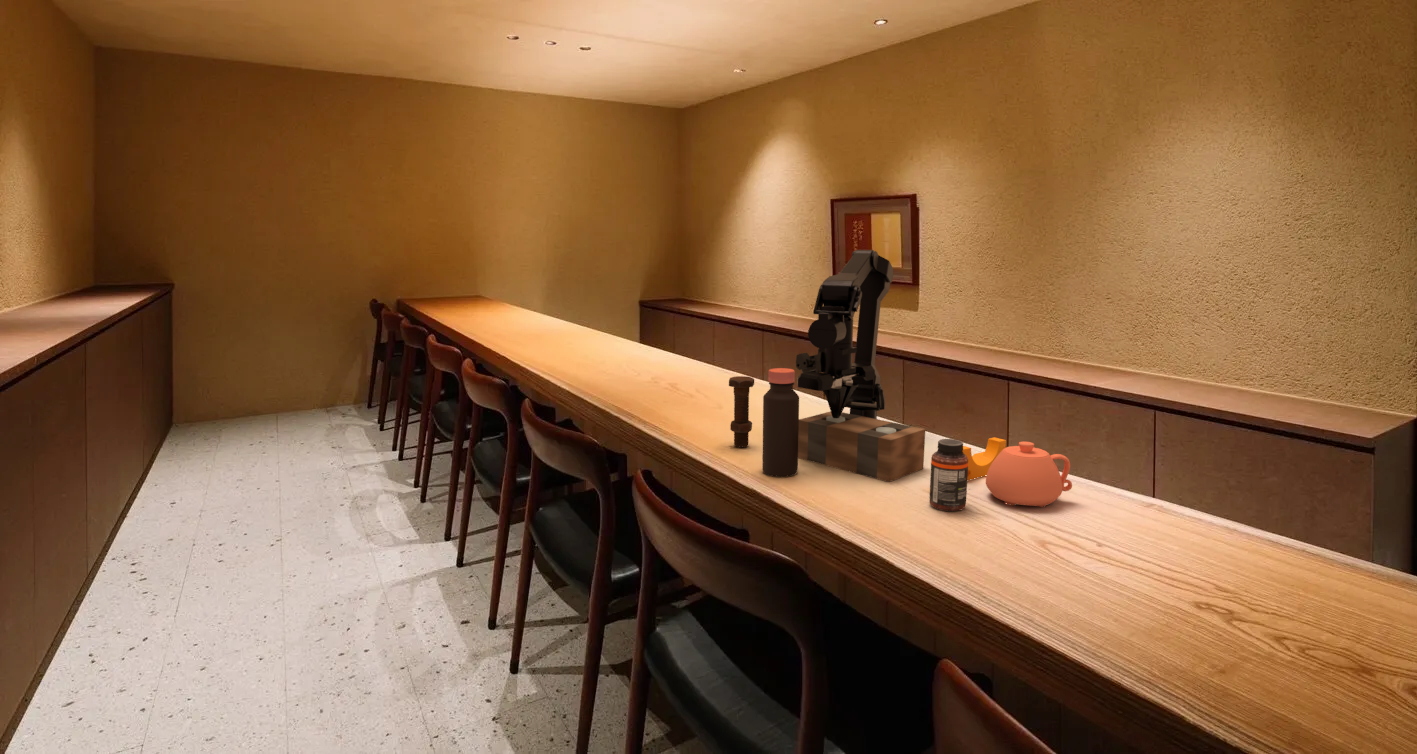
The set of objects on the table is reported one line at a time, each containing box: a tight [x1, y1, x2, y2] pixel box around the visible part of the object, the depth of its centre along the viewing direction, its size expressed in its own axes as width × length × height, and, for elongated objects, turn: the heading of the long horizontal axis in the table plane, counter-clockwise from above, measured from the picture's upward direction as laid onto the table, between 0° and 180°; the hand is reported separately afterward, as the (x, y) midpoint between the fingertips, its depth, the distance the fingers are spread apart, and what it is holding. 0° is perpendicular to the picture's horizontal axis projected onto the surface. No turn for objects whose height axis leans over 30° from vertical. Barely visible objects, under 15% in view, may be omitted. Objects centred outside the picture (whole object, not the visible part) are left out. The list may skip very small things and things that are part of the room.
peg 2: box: [876, 427, 896, 434], centre depth 149 cm, size 4×4×7 cm
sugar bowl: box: [985, 441, 1073, 508], centre depth 132 cm, size 12×14×10 cm
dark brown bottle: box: [761, 367, 800, 478], centre depth 146 cm, size 7×7×20 cm
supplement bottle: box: [928, 438, 968, 512], centre depth 129 cm, size 6×6×11 cm
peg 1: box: [826, 416, 845, 423], centre depth 158 cm, size 4×4×7 cm
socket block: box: [798, 411, 926, 483], centre depth 153 cm, size 12×22×8 cm, turn 44°
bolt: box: [728, 375, 755, 448], centre depth 165 cm, size 6×5×15 cm
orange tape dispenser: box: [963, 436, 1007, 481], centre depth 147 cm, size 12×4×6 cm, turn 122°
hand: (835, 417), depth 157 cm, fingers closed, pressing on peg 1
